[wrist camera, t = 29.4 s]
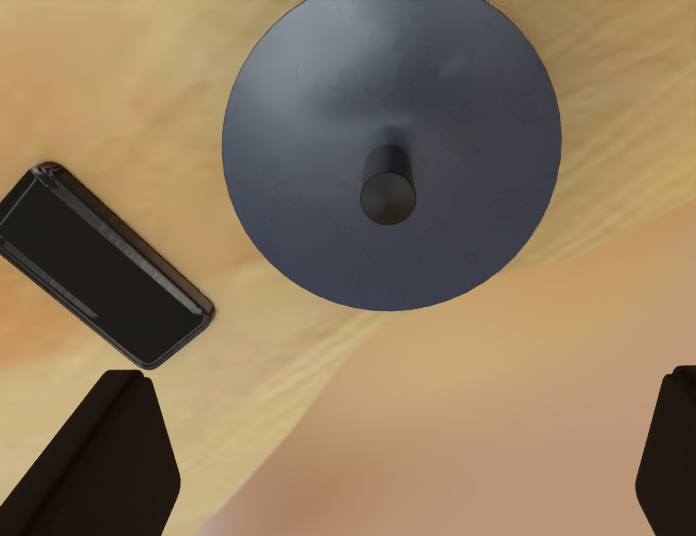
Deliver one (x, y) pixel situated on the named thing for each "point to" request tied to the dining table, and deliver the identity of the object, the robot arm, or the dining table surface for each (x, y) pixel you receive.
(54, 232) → the phone
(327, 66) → the lid
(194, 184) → the dining table surface
